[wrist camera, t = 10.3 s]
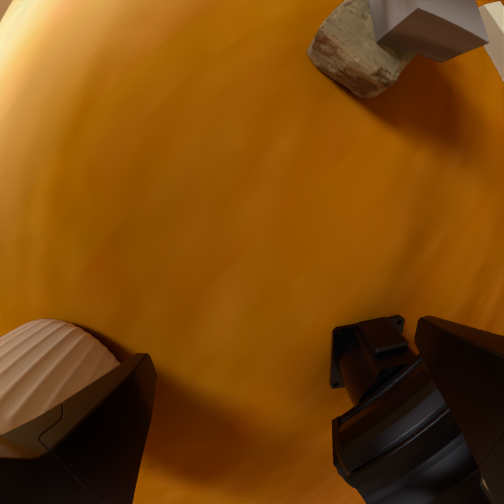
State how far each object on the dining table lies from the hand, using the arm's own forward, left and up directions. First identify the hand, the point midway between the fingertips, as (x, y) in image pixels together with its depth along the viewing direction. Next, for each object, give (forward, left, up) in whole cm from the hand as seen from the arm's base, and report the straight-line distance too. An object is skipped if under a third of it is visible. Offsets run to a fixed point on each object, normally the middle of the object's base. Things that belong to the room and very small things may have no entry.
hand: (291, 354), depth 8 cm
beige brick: (+20, -27, -12) cm, 36 cm away
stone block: (+16, -10, -12) cm, 22 cm away
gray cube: (+15, -10, -7) cm, 20 cm away
